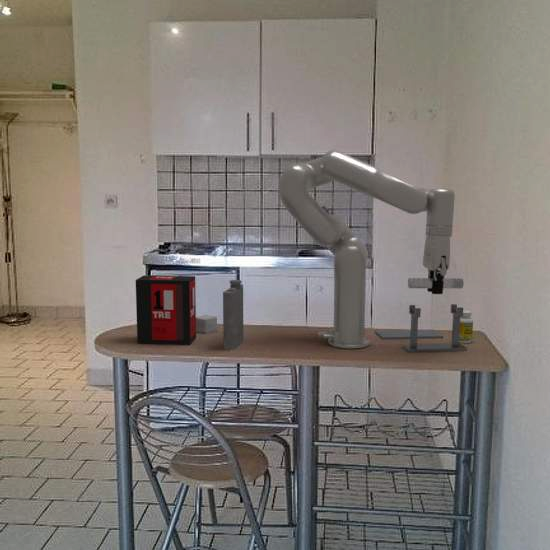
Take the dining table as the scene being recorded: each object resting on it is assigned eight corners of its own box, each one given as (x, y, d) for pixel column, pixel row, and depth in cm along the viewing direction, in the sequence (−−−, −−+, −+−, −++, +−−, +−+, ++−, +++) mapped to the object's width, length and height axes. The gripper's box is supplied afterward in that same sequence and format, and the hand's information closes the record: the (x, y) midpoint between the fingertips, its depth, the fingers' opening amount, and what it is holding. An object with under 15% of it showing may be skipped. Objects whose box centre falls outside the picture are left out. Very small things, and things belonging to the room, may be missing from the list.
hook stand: (408, 352, 189) (410, 309, 188) (402, 346, 195) (403, 304, 193) (466, 350, 191) (469, 307, 189) (459, 345, 197) (461, 303, 195)
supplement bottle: (462, 338, 206) (463, 308, 205) (475, 341, 202) (477, 311, 200) (450, 340, 203) (452, 310, 202) (464, 344, 199) (465, 313, 197)
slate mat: (382, 339, 204) (382, 337, 204) (375, 332, 213) (375, 330, 213) (443, 337, 207) (443, 336, 206) (433, 331, 215) (433, 329, 215)
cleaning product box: (196, 338, 205) (195, 276, 202) (190, 345, 196) (189, 280, 193) (145, 336, 206) (143, 275, 203) (137, 343, 198) (135, 279, 195)
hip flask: (234, 337, 206) (234, 276, 203) (247, 338, 205) (246, 276, 202) (222, 350, 190) (221, 284, 187) (235, 351, 190) (235, 284, 187)
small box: (205, 328, 218) (205, 314, 218) (217, 331, 215) (217, 316, 214) (193, 331, 214) (193, 317, 213) (205, 334, 211) (205, 319, 210)
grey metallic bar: (410, 289, 188) (411, 279, 188) (407, 287, 191) (408, 277, 191) (463, 289, 190) (463, 279, 190) (459, 287, 193) (459, 277, 193)
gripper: (417, 228, 196) (413, 287, 199) (436, 233, 180) (432, 298, 182) (441, 228, 196) (437, 288, 199) (462, 234, 180) (457, 298, 183)
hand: (434, 292), depth 191 cm, fingers closed on grey metallic bar, 3 cm apart
